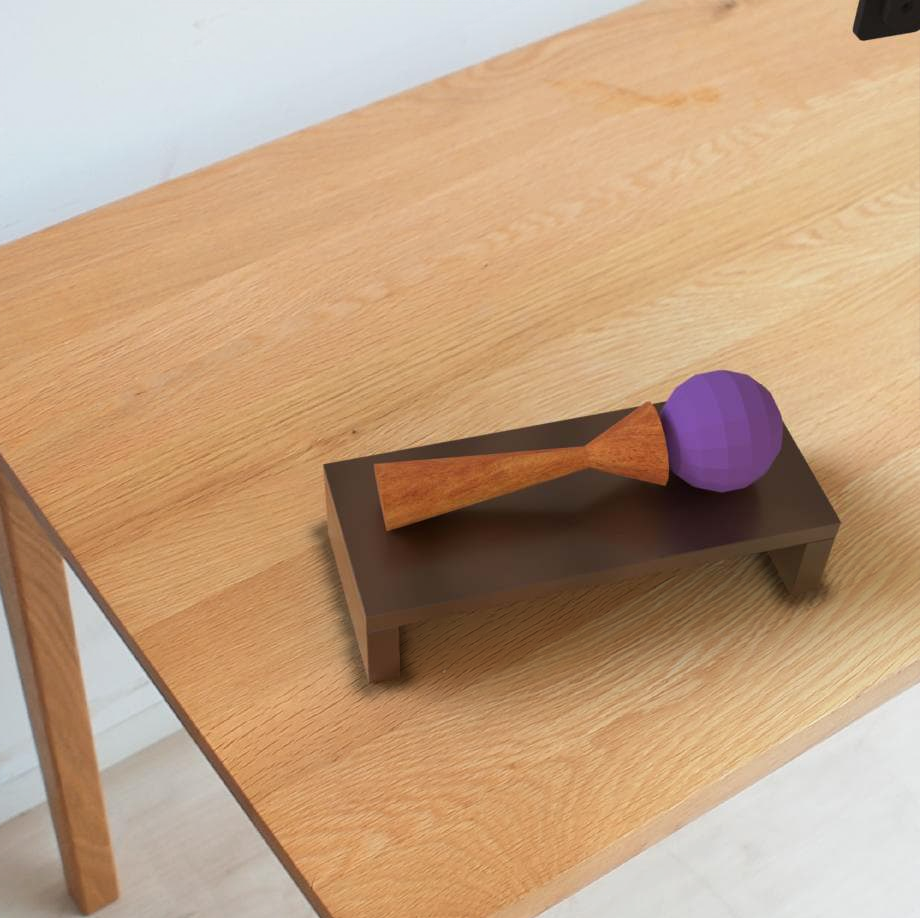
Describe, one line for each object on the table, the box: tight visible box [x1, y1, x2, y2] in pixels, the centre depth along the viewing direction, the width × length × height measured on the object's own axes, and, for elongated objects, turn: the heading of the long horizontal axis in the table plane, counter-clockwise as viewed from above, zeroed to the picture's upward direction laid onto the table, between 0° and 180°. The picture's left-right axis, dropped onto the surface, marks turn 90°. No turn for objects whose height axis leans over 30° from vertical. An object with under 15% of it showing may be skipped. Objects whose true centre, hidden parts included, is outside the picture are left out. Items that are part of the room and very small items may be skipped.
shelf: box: [322, 383, 842, 684], centre depth 75 cm, size 24×10×6 cm, turn 104°
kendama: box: [374, 369, 784, 531], centre depth 71 cm, size 6×6×20 cm
